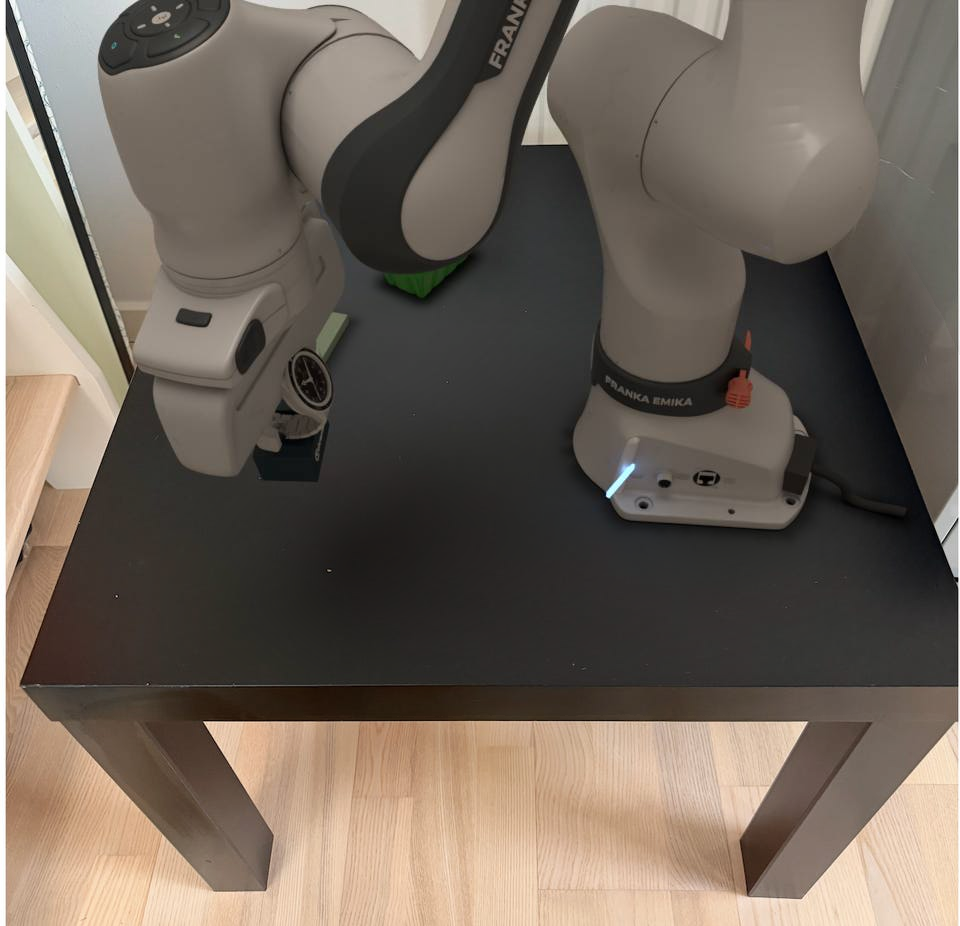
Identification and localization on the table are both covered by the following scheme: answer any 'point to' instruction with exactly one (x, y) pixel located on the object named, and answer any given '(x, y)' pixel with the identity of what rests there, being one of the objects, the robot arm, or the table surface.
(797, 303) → the table surface
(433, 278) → the fruit basket
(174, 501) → the table surface
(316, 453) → the watch
